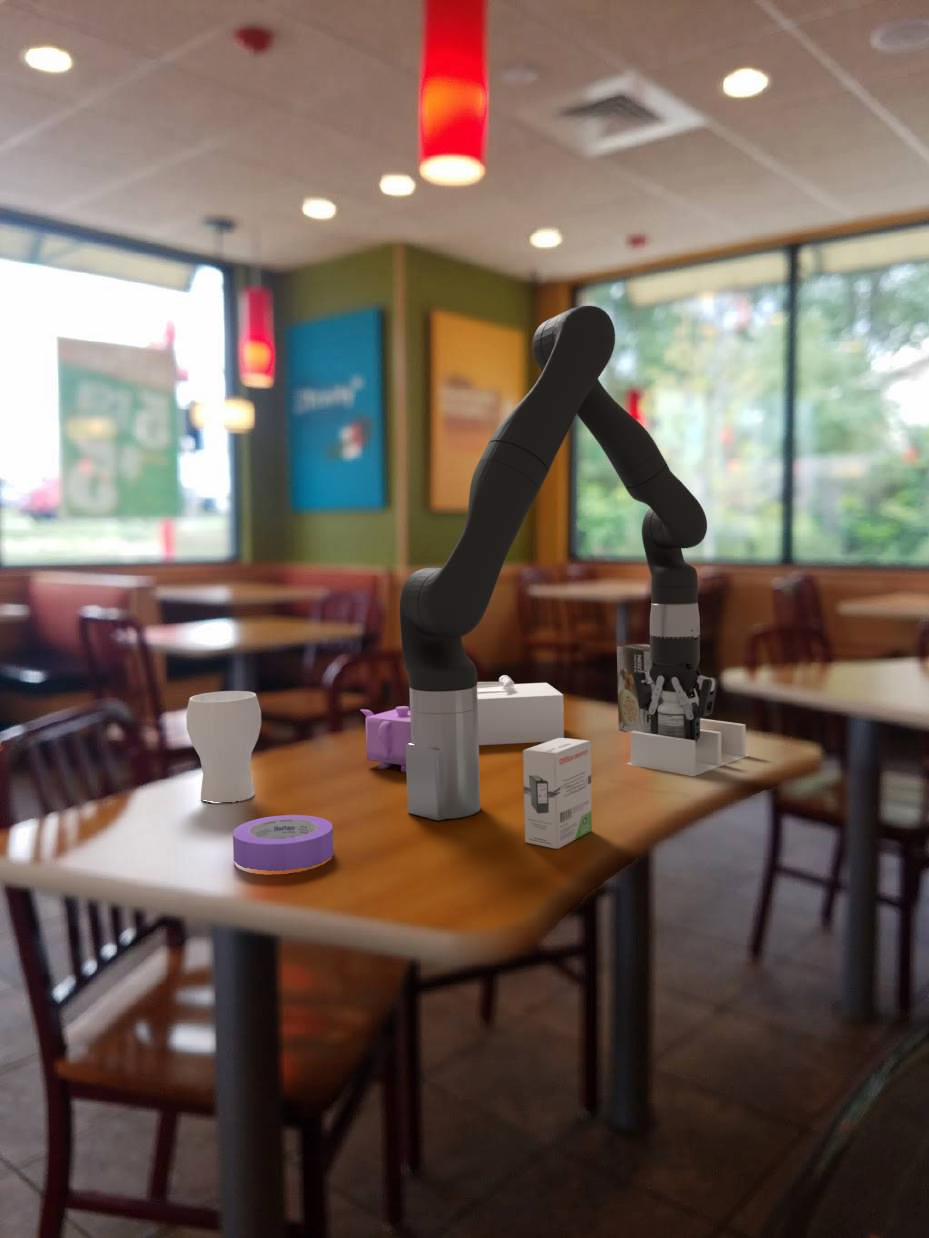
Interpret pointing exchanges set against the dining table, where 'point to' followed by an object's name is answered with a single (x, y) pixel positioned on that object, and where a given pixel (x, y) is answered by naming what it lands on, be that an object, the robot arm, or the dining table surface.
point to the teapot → (388, 736)
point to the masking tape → (283, 842)
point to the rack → (690, 749)
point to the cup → (224, 742)
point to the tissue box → (518, 712)
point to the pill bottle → (671, 716)
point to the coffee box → (632, 687)
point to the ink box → (557, 792)
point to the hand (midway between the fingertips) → (675, 739)
